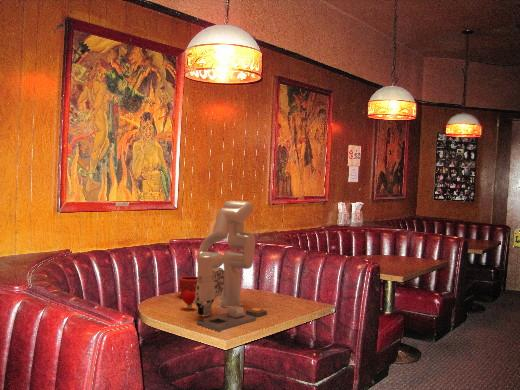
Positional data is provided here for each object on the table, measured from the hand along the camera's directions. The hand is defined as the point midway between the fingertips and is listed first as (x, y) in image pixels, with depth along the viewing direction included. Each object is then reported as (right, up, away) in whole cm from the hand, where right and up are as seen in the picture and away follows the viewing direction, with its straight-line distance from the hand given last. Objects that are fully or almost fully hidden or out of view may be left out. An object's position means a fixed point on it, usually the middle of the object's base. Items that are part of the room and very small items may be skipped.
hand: (204, 313), depth 264 cm
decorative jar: (-1, -1, +55) cm, 55 cm away
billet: (0, -1, 0) cm, 1 cm away
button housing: (+27, -4, +8) cm, 28 cm away
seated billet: (+16, -3, -2) cm, 17 cm away
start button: (+27, -2, +8) cm, 28 cm away
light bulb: (-10, -2, +17) cm, 20 cm away
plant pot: (-14, -1, +44) cm, 46 cm away
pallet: (+12, -4, -7) cm, 15 cm away
